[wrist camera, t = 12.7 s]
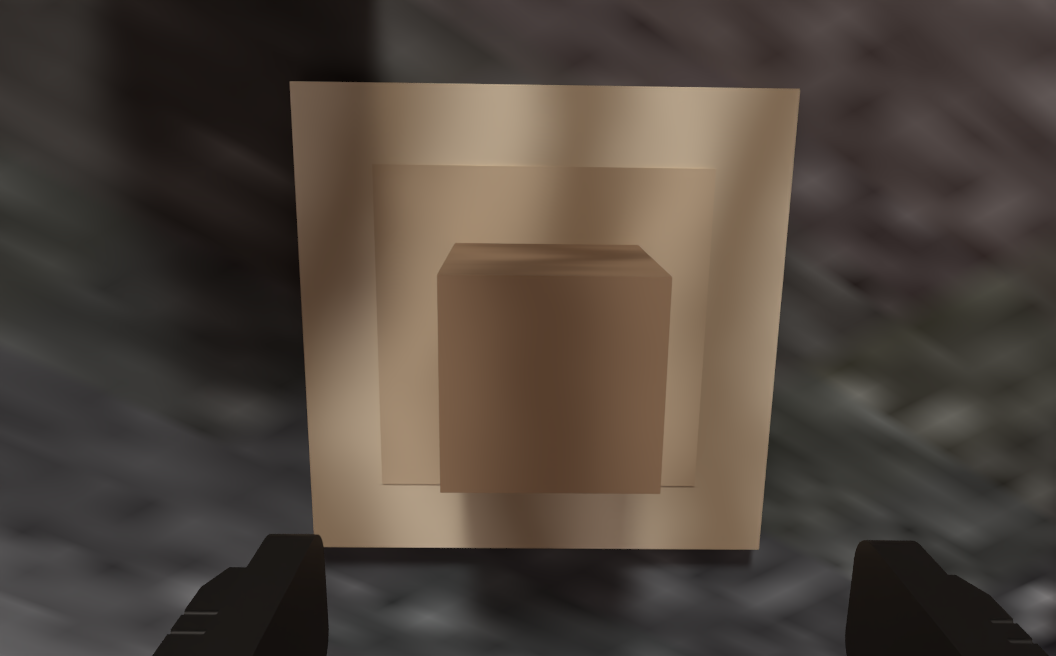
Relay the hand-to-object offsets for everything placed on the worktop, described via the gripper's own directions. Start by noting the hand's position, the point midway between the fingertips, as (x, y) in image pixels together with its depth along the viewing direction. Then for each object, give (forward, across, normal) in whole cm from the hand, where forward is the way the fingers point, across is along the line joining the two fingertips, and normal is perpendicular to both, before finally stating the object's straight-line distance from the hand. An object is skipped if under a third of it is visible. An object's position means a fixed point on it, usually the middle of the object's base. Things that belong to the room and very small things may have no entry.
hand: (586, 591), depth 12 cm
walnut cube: (+15, 0, 0) cm, 15 cm away
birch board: (+16, 0, 0) cm, 17 cm away
